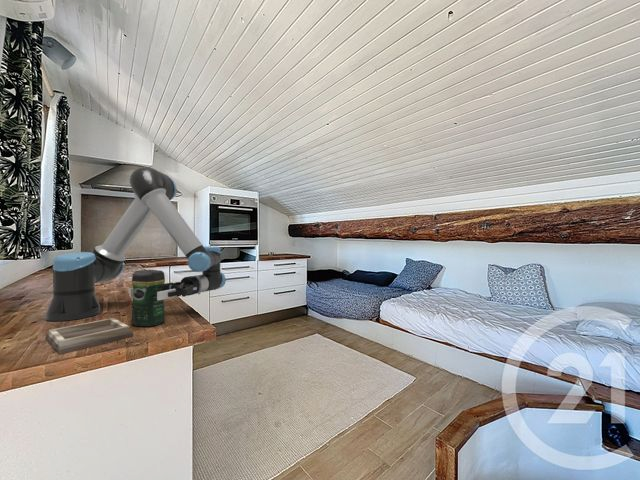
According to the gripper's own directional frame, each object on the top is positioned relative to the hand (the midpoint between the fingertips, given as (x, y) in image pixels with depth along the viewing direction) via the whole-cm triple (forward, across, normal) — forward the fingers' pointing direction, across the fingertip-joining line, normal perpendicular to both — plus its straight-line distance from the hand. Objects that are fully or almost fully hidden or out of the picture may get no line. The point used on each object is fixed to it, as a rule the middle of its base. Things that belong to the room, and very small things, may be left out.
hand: (143, 294), depth 91 cm
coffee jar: (-2, 0, -11) cm, 11 cm away
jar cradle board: (+14, +4, -10) cm, 17 cm away
